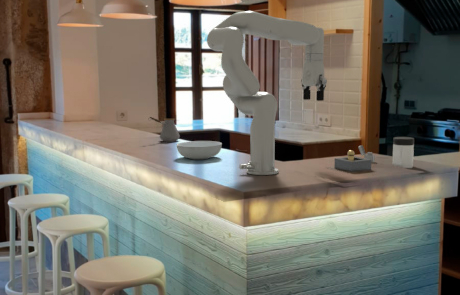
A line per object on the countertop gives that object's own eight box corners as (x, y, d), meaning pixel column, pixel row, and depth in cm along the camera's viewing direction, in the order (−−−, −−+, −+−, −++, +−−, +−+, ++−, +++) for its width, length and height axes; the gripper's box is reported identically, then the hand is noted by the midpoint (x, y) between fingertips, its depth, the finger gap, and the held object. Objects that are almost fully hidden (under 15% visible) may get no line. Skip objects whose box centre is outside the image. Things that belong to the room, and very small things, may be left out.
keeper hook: (350, 169, 215) (350, 150, 214) (345, 168, 218) (346, 150, 217) (355, 168, 217) (356, 150, 216) (351, 167, 219) (351, 149, 218)
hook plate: (348, 176, 208) (348, 173, 208) (325, 170, 220) (325, 167, 220) (376, 172, 215) (376, 169, 214) (352, 167, 227) (352, 164, 227)
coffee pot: (169, 139, 325) (169, 114, 322) (184, 140, 317) (183, 114, 315) (142, 143, 308) (142, 116, 306) (157, 144, 301) (156, 117, 299)
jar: (393, 164, 233) (394, 136, 232) (413, 165, 230) (414, 137, 229) (391, 167, 225) (392, 138, 224) (412, 169, 222) (413, 139, 221)
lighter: (374, 164, 233) (375, 146, 231) (373, 165, 231) (373, 146, 230) (359, 163, 237) (359, 144, 236) (357, 163, 236) (358, 145, 235)
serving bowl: (201, 153, 269) (201, 139, 268) (231, 158, 254) (231, 143, 253) (167, 158, 255) (167, 143, 254) (197, 163, 240) (197, 147, 239)
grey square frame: (351, 172, 210) (351, 161, 209) (334, 168, 218) (334, 158, 218) (371, 169, 214) (371, 159, 214) (353, 166, 223) (354, 156, 223)
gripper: (295, 58, 232) (294, 99, 235) (318, 57, 217) (317, 101, 219) (310, 58, 236) (309, 99, 238) (334, 57, 220) (333, 100, 222)
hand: (313, 100), depth 229 cm, fingers open, 9 cm apart
